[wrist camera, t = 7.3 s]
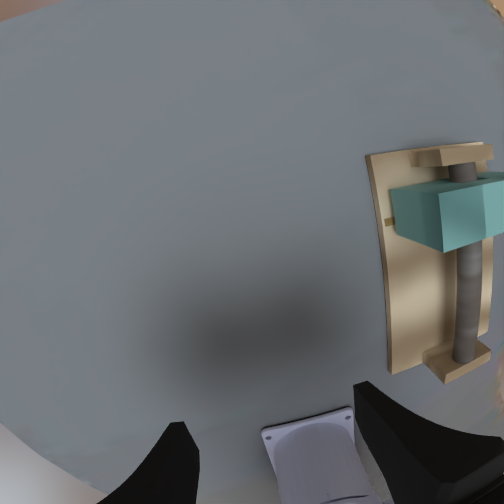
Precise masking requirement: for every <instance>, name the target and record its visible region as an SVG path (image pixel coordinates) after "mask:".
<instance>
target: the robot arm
mask: <svg viewBox="0 0 504 504" xmlns="http://www.w3.org/2000/svg"><path fill="white" fill-rule="evenodd" d="M353 388H354V404H355V418H356V421H357V424H358V427H359V429H360V432H361V434H362V437H363V439H364V440H365V442H366V444H367V446H368V448H369V450H370V451H371V453H372V455H373V457H374V459H375V461H376V462H377V464H378V466H379V468H380V470H381V471H382V473H383V476H384V478H385V480H386V482H387V485H388V487H389V490H390V493H391V495H392V498H393V500H387V501H385V502H383V504H504V474H503V473H504V440H503V439H502V438H501V437H496V436H484V435H476V434H470V433H465V432H461V431H457V430H454V429H450V428H447V427H444V426H441V425H439V424H436V423H434V422H431V421H429V420H427V419H425V418H423V417H421V416H419V415H417V414H415V413H413V412H411V411H410V410H408V409H406V408H405V407H403V406H402V405H400V404H398V403H397V402H395V401H394V400H392V399H391V398H390V397H388V396H387V395H385V394H384V393H383V392H381V391H380V390H379V389H378V388H376V387H375V386H374V385H372V384H371V383H370V382H368V381H365V382H362V383H359V384H355V385H353ZM346 416H348V417H346ZM261 434H262V438H263V441H264V444H265V447H266V449H267V452H268V455H269V458H270V461H271V463H272V466H273V469H274V472H275V474H276V477H277V483H278V490H279V497H280V503H281V504H382V502H381V500H380V497H379V495H378V493H376V494H375V493H374V490H373V488H372V486H371V483H370V481H369V479H368V476H367V474H366V471H365V469H364V467H363V464H362V462H361V460H360V457H359V455H358V453H357V450H356V448H355V442H354V418H353V410H352V408H350V407H347V408H344V409H340V410H337V411H334V412H330V413H327V414H323V415H320V416H316V417H312V418H308V419H305V420H301V421H296V422H292V423H288V424H284V425H279V426H274V427H270V428H265V429H263V430H262V431H261ZM267 436H270V437H267ZM199 472H200V458H199V449H198V447H197V446H196V444H195V442H194V440H193V438H192V436H191V435H190V433H189V431H188V429H187V427H186V425H185V423H184V421H182V422H173V423H170V424H169V425H168V427H167V428H166V430H165V431H164V433H163V434H162V436H161V437H160V439H159V440H158V441H157V443H156V444H155V446H154V447H153V448H152V450H151V451H150V453H149V454H148V455H147V457H146V458H145V459H144V461H143V462H142V463H141V464H140V465H139V467H138V468H137V469H136V470H135V471H134V472H133V474H132V475H131V476H130V477H129V478H128V479H127V480H126V481H125V482H124V483H123V484H121V485H120V486H119V487H118V488H117V489H116V490H114V491H113V492H112V493H111V494H109V495H108V496H107V497H106V498H104V499H103V500H101V501H100V502H98V503H97V504H196V496H197V489H198V480H199Z"/></svg>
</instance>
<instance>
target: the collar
mask: <svg viewBox="0 0 504 504" xmlns="http://www.w3.org/2000/svg"><path fill="white" fill-rule="evenodd" d="M390 191H391V197H392V203H393V210H394V217H395V225H396V233H397V235H399V236H402V237H404V238H407V239H410V240H412V241H415V242H417V243H420V244H423V245H425V246H428V247H430V248H433V249H435V250H438V251H441V252H443V253H445V252H448V251H451V250H454V249H457V248H460V247H463V246H466V245H469V244H472V243H475V242H477V241H480V240H483V239H486V238H489V237H492V236H495V235H497V234H500V233H503V232H504V172H481V173H477V181H472V182H466V183H451V182H450V178H447V179H441V180H436V181H430V182H425V183H420V184H414V185H409V186H404V187H399V188H394V189H390Z"/></svg>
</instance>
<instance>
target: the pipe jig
mask: <svg viewBox="0 0 504 504" xmlns="http://www.w3.org/2000/svg"><path fill="white" fill-rule="evenodd" d="M365 157H366V162H367V167H368V172H369V177H370V182H371V188H372V193H373V199H374V205H375V211H376V218H377V225H378V232H379V239H380V247H381V256H382V265H383V275H384V286H385V299H386V315H387V338H388V371H389V372H390V373H391V375H394V374H396V373H399V372H401V371H404V370H406V369H409V368H411V367H414V366H416V365H419V364H421V363H423V362H424V363H425V364H426V365H427V366H428V368H429V369H430V370H431V371H432V372H433V373H434V374H435V375H436V376H437V377H438V378H439V379H440V380H441V381H442V382H443V384H446V383H448V382H450V381H452V380H454V379H456V378H458V377H460V376H462V375H464V374H466V373H468V372H470V371H471V370H473V369H475V368H477V367H478V366H480V365H482V364H484V363H485V362H487V361H489V360H490V356H491V349H489V348H488V347H487V346H485V345H484V344H483V343H481V342H480V341H479V340H477V337H478V336H480V335H482V334H484V333H486V332H487V331H488V324H489V315H490V305H491V292H492V273H493V236H492V237H489V238H486V239H483V240H480V241H477V242H475V243H472V244H469V245H466V246H463V247H460V248H457V249H454V250H451V251H448V252H445V253H443V252H441V251H438V250H435V249H433V248H430V247H428V246H425V245H423V244H420V243H417V242H415V241H412V240H410V239H407V238H404V237H402V236H399V235H397V233H396V225H395V217H394V210H393V203H392V197H391V191H390V189H394V188H399V187H404V186H409V185H414V184H420V183H425V182H430V181H436V180H441V179H447V178H450V182H451V183H466V182H472V181H477V173H481V172H488V171H487V164H486V160H491V159H494V156H493V150H492V144H485V145H483V142H475V143H464V144H453V145H444V146H434V147H426V148H418V149H410V150H402V151H395V152H388V153H381V154H375V155H368V156H365Z"/></svg>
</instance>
